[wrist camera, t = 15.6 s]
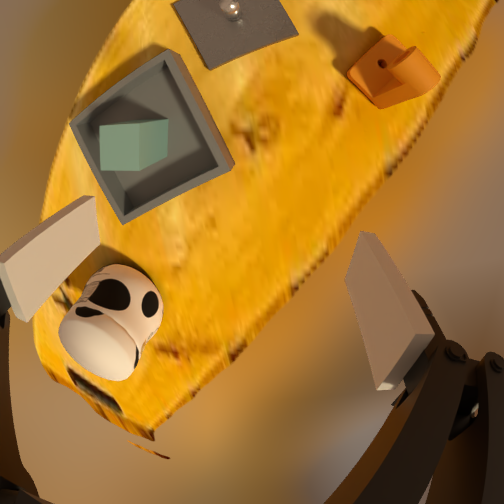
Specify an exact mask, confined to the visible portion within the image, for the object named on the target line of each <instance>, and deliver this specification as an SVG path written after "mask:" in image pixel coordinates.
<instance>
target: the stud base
mask: <svg viewBox="0 0 504 504" xmlns="http://www.w3.org/2000/svg"><path fill="white" fill-rule="evenodd" d="M173 5H174V6H175V8H176V10H177V12H178V13H179V15H180V17H181V19H182V20H183V22H184V24H185V26H186V27H187V29H188V31H189V33H190V35H191V36H192V38H193V40H194V42H195V44H196V46H197V47H198V49H199V51H200V53H201V55H202V57H203V59H204V60H205V62H206V64H207V66H208V68H209V70H213V69H215V68H217V67H219V66H222V65H224V64H226V63H228V62H230V61H233V60H235V59H237V58H239V57H242V56H244V55H246V54H249V53H251V52H254V51H256V50H259V49H261V48H264V47H267V46H269V45H272V44H275V43H278V42H281V41H283V40H286V39H289V38H293V37H296V36H298V35H299V33H298V32H297V30H296V28H295V26H294V25H293V23H292V21H291V19H290V18H289V16H288V14H287V13H286V11H285V9H284V8H283V6H282V5H281V3H280V1H279V0H180V1H178V2H177V3H175V4H173Z"/></svg>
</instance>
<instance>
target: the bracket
mask: <svg viewBox="0 0 504 504" xmlns="http://www.w3.org/2000/svg"><path fill="white" fill-rule="evenodd" d="M378 62H379V63H380V65H381V67H379V65H378ZM347 77H348V78H349V79H350V80H351V81H352V82H353V83H354V84H355V85H356V86H357V87H358V88H359V89H360V90H361V91H362V92H363V93H364V94H365V95H366V96H367V97H368V98H369V99H370V100H371V101H372V102H373V103H374V104H375V105H376V106H377V108H378V109H384V108H387V107H390V106H392V105H395V104H398V103H401V102H404V101H407V100H409V99H412V98H415V97H418V96H421V95H423V94H425V93H427V92H428V91H430V90H431V89H432V88H433V87H434V86H435V85H436V84H437V83H438V82H439V80H440V78H441V76H440V74H439V73H438V72H437V71H436V69H435V68H434V67H433V66H432V64H431V63H430V62H429V61H428V60H427V58H426V57H425V56H424V55H423V54H422V53H421V52H420V50H419V49H418V48H417V47H416V46H413V47H411V48H409V49H406V48H405V47H404V46H403V45H402V44H401V43H400V42H399V41H398V40H397V38H396V37H394V36H393V35H387V36H385V37H383V38H382V39H381V40H380V41H378V42H377V43H376V44H375V45H374V46H372V47H371V48H370V49H369V50H368V51H367V52H366V53H365V54H364V55H363V56H362V57H361V58H360V59H359V60H358V61H357V62H356V63H355V64H354V65H353V66H352V67H351V68H350V69H349V70H348V71H347Z"/></svg>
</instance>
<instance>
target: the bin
mask: <svg viewBox="0 0 504 504" xmlns="http://www.w3.org/2000/svg"><path fill="white" fill-rule="evenodd" d="M147 119H169V120H168V145H167V157H165V158H163V159H161V160H159V161H158V162H156V163H154V164H152V165H150V166H148V167H146V168H144V169H142V170H140V171H112V170H101V167H100V126H102V125H107V124H113V123H119V122H125V121H131V120H147ZM69 125H70V127H71V129H72V131H73V134H74V136H75V138H76V140H77V142H78V144H79V146H80V148H81V150H82V152H83V154H84V156H85V158H86V160H87V162H88V164H89V166H90V168H91V170H92V172H93V174H94V176H95V178H96V180H97V181H98V183H99V185H100V187H101V189H102V191H103V192H104V194H105V196H106V198H107V200H108V201H109V203H110V205H111V207H112V208H113V210H114V212H115V214H116V215H117V217H118V219H119V220H120V222H121V224H122V225H124V224H126V223H128V222H129V221H131V220H133V219H135V218H137V217H138V216H140V215H142V214H144V213H146V212H148V211H149V210H151V209H153V208H155V207H157V206H159V205H161V204H163V203H165V202H167V201H168V200H170V199H172V198H174V197H176V196H178V195H180V194H182V193H184V192H186V191H188V190H190V189H192V188H194V187H197V186H199V185H201V184H203V183H205V182H207V181H209V180H211V179H213V178H216V177H218V176H220V175H222V174H224V173H226V172H229V171H231V169H232V168H233V166H234V165H235V162H234V160H233V158H232V156H231V154H230V152H229V150H228V148H227V146H226V144H225V142H224V140H223V138H222V136H221V134H220V132H219V130H218V128H217V126H216V124H215V122H214V120H213V118H212V116H211V114H210V112H209V110H208V108H207V106H206V104H205V102H204V100H203V98H202V96H201V94H200V92H199V90H198V88H197V86H196V84H195V83H194V81H193V79H192V77H191V75H190V73H189V71H188V69H187V67H186V65H185V63H184V61H183V60H182V58H181V56H180V54H178V53H176V52H174V51H172V50H170V49H167V50H166V51H164V52H162V53H161V54H159V55H157V56H156V57H154V58H153V59H151V60H149V61H148V62H146V63H145V64H143V65H142V66H140V67H139V68H137V69H136V70H134V71H133V72H132V73H130V74H129V75H127V76H126V77H125V78H123V79H122V80H120V81H119V82H118V83H116V84H115V85H114V86H112V87H111V88H110V89H109V90H107V91H106V92H105V93H103V94H102V95H101V96H100V97H99V98H97V99H96V100H95V101H94V102H93V103H91V104H90V105H89V106H88V107H87V108H86V109H84V110H83V111H82V112H81V113H80V114H79V115H78V116H77V117H75V118H74V119H73V120H72V121H71V122H70V123H69Z"/></svg>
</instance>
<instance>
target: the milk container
mask: <svg viewBox="0 0 504 504" xmlns="http://www.w3.org/2000/svg"><path fill="white" fill-rule="evenodd" d="M162 316H163V302H162V298H161V295H160V293H159V291H158V289H157V288H156V286H155V285H154V284H153V282H152V281H151V280H150V279H149V278H148V277H146V276H145V275H144V274H143V273H141V272H140V271H138V270H136V269H134V268H132V267H130V266H127V265H122V264H112V265H107V266H105V267H103V268H101V269H100V270H98V271H97V272H95V273H94V274H93V275H92V276H91V277H90V279H89V280H88V282H87V283H86V286H85V288H84V291H83V293H82V295H81V297H80V298H79V299H78V300H77V302H76V303H75V304H74V305H73V306H72V307H71V309H70V311H69V312H68V313H67V314H66V315H65V317H64V318H63V320H62V322H61V324H60V327H59V332H58V333H59V337H60V340H61V343H62V344H63V346H64V348H65V349H66V351H67V352H68V353H69V354H70V356H71V357H72V358H73V359H74V360H75V361H76V362H77V363H79V364H80V365H81V366H82V367H84V368H85V369H86V370H88V371H90V372H92V373H93V374H95V375H97V376H100V377H103V378H105V379H108V380H116V381H120V380H124V379H127V378H128V377H129V376H130V374H131V373H132V372H133V371H134V369H135V367H136V366H137V363H138V360H139V359H140V357H141V354H142V352H143V349H144V347H145V345H146V343H147V342H148V340H149V339H150V338H151V337H152V336H153V335H154V334H155V333H156V331H157V330H158V328H159V326H160V323H161V320H162Z"/></svg>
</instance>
